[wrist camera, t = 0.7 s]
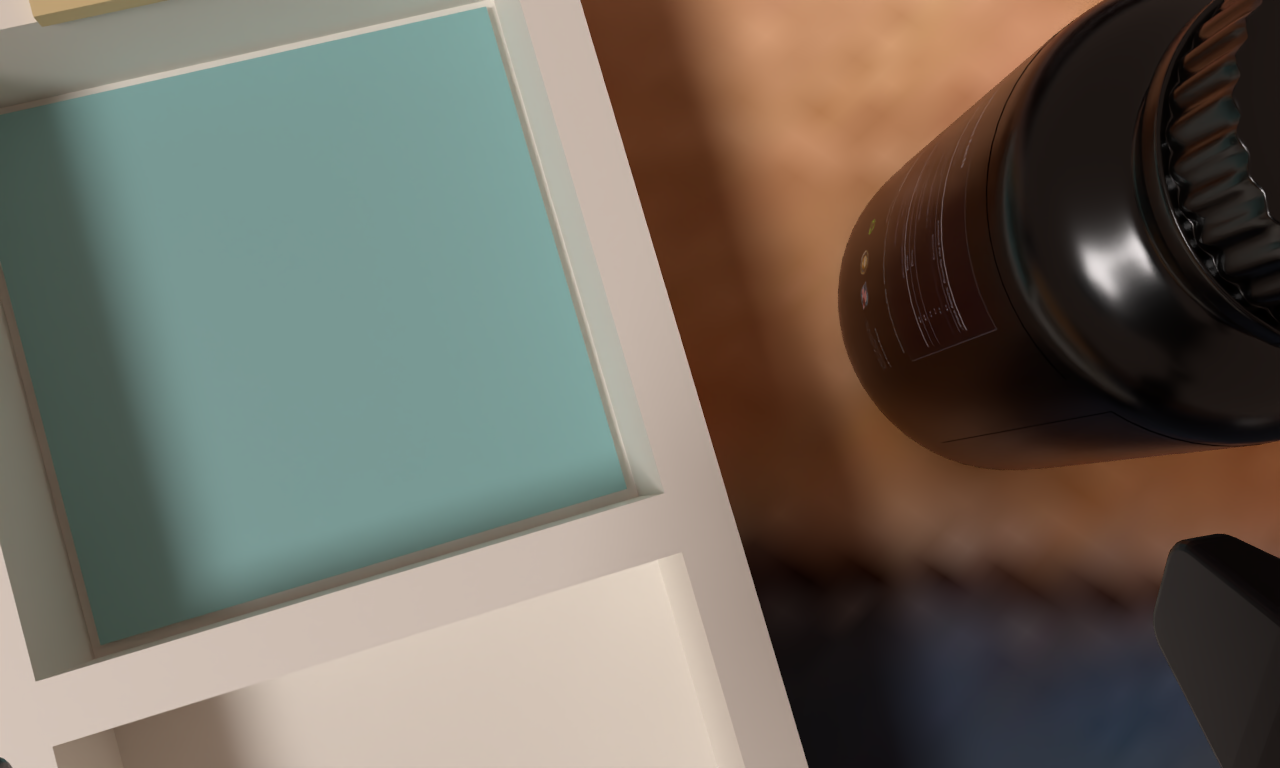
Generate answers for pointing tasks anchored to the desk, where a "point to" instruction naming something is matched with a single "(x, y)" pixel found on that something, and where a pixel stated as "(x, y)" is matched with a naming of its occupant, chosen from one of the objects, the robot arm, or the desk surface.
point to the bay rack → (350, 405)
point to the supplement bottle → (1087, 250)
